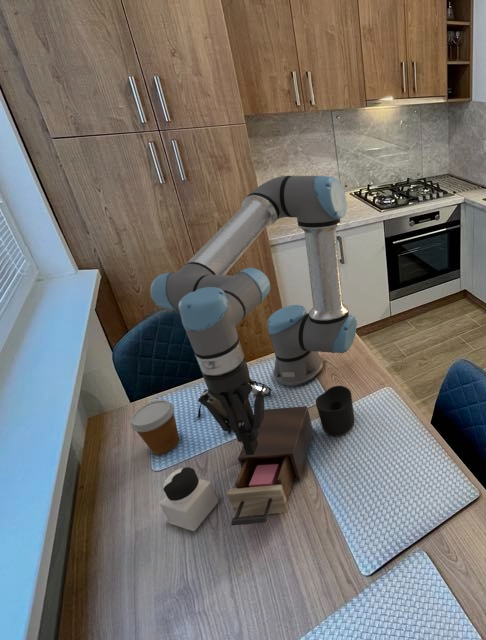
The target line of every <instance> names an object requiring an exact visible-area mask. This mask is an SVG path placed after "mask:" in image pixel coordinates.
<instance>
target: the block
mask: <svg viewBox="0 0 486 640" xmlns="http://www.w3.org/2000/svg"><path fill="white" fill-rule="evenodd" d="M279 473H280V467H279V464H271V465H257V467H256V469H255V472H254V474H253V476H252V479H251V481H250V484H249V487H260V486H272V485H279V484H278V481H277V479H278V476H279Z"/></svg>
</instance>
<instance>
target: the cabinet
mask: <svg viewBox="0 0 486 640" xmlns="http://www.w3.org/2000/svg"><path fill="white" fill-rule="evenodd" d="M313 428H314V427H313V423H312V421H311V416H310V412H309V407H308V405H305V406H304V405H303V406H293V407H292V406H291V407H277V408H266V409H265V408H264V419H263V421H262V423H261V426H260V428H259V429H257V430H258V433H259V434H258V437H257V442H258V446H257V448H256V451H255V453H254V455H246V452H245V449H244V446H243V445H242V448H241V450H240V451H239V454H238V456H237V460H238V463H239V466H240V469H241V468H242V466H243V463H244V461H245V460H249V459H260V458H272V457H284V456H290V458H291V461H292V465H293V468H294V472H295V475H294V479H293V482H297V481H301V479H302V475H303V472H304V468H305V465H306V461H307V457H308V454H309V449H310V447H311V442H312V438H313V435H314V429H313Z"/></svg>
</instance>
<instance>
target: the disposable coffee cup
mask: <svg viewBox="0 0 486 640" xmlns="http://www.w3.org/2000/svg"><path fill="white" fill-rule="evenodd" d="M129 425H130V428H131V430H133V431H135V432H136V433H137V434H138V435H139V437H140V438H141V440H142V441H143V442H144V443H145V444H146V445H147V447H148V448H149V450H150V451H151V452H152V453H153V454H154V455H164V454H166V453H169V452H171V451H173V449H175V448H176V447H177V446H178V444H179V443H180V435H179V430H178V426H177V422H176V417H175V406H174V404H173V403H172V402H170V401H169V400H167V399H156V400H153V401H150V402H148V403H145V404H143V405H142V406H140V407H139V408H138V409H136V410H135V411H134V413H132V415H131V418H130V423H129Z"/></svg>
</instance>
